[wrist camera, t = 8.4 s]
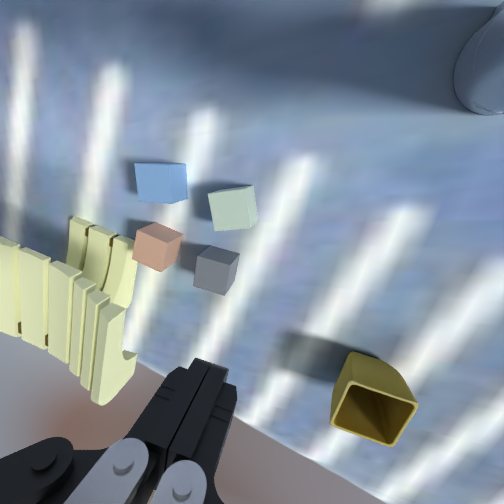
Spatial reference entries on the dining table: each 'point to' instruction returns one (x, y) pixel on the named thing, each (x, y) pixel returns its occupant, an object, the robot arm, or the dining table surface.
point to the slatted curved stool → (74, 304)
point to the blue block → (161, 182)
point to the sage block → (233, 208)
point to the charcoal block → (216, 269)
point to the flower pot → (371, 400)
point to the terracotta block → (156, 246)
